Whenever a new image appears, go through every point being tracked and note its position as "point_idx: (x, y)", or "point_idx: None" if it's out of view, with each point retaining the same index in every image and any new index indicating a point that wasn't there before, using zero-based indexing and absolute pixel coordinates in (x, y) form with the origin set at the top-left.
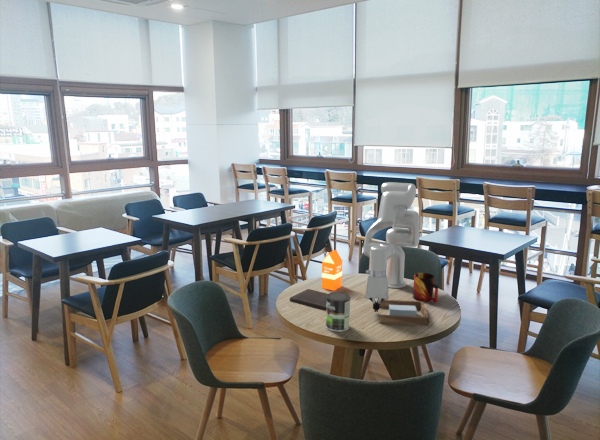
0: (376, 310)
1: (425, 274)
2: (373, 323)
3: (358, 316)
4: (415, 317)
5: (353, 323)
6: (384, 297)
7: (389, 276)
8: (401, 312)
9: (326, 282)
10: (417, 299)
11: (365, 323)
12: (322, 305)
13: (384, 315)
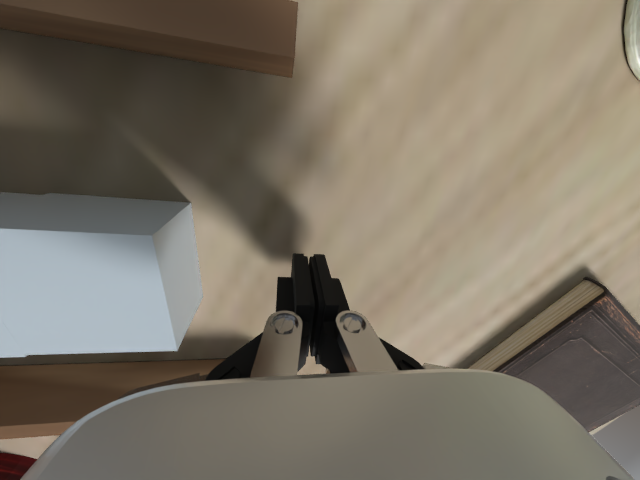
0: (307, 264)
1: None
2: (365, 41)
3: (445, 212)
4: None
5: (553, 49)
6: (159, 403)
7: None
8: (8, 214)
9: None
10: (14, 466)
11: (444, 44)
12: (622, 320)
13: (227, 16)
